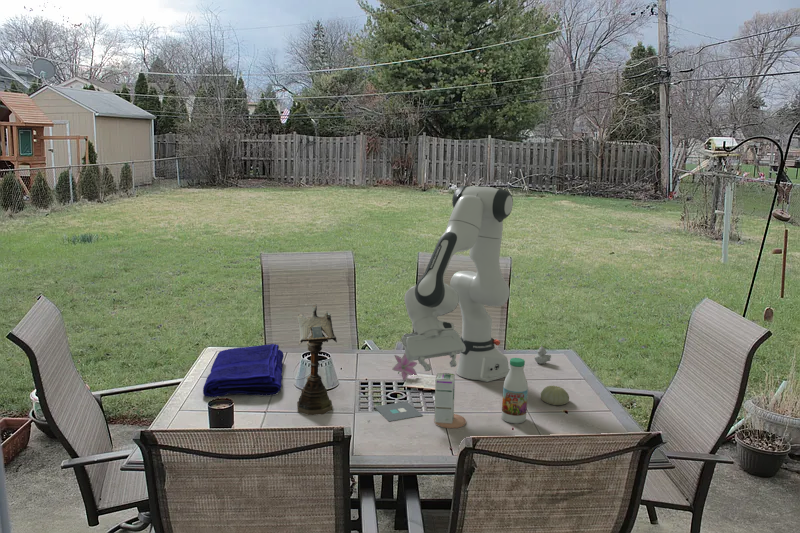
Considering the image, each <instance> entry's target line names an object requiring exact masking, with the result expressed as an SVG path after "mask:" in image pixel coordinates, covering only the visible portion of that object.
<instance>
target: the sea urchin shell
mask: <svg viewBox="0 0 800 533" xmlns="http://www.w3.org/2000/svg"><path fill="white" fill-rule="evenodd" d="M540 399H541V400H542V401H543V402H545V403H546V404H548V405H553V406H562V405H566V404H567V403H568V402H569V401H570V396H569V392H567V391H566V390H565V389H564V388H563V387H561V386H557V385H548V386H546V387H544V388H543V389H542V391H541V393H540Z"/></svg>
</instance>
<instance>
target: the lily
mask: <svg viewBox="0 0 800 533" xmlns="http://www.w3.org/2000/svg"><path fill="white" fill-rule="evenodd" d="M393 356H394V358H395V360H396V362H397V363H396V364H395V365H394V366H393V367H392V371H394V372H397V374H399V373H401V377H402V381H403V382H404V381H405V380H407V378H408V376H411V375H413V374H414V375H417V376H418V373H417V371H416V369H415V367H416V366H417V364H418V362H417V361H409V360H408V359H407V358H406V354H405V353H404V354H403V355H402V357H401V356H399V355H397V354H394V355H393Z"/></svg>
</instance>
